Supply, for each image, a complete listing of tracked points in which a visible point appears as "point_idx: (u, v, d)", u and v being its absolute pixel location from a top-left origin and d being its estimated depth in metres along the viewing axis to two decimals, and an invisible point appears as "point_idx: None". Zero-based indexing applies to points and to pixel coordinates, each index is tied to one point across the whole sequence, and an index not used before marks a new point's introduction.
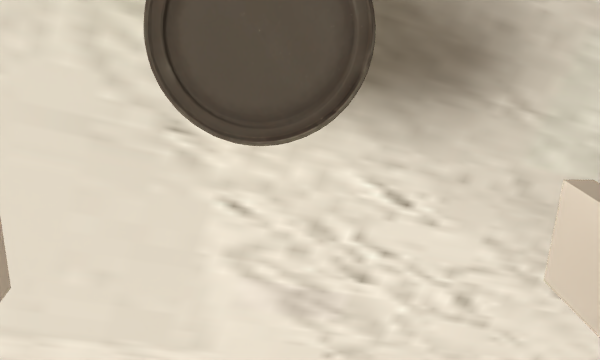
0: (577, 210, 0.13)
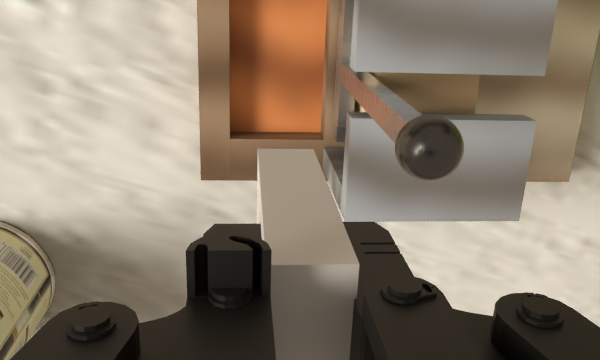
0: None
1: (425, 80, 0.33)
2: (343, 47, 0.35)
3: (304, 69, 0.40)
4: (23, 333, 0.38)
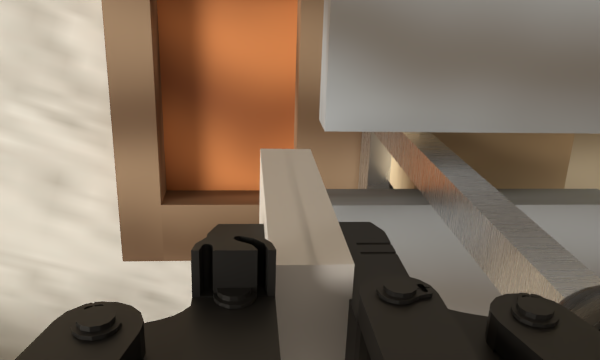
0: None
1: (494, 133, 0.21)
2: None
3: (267, 104, 0.28)
4: None
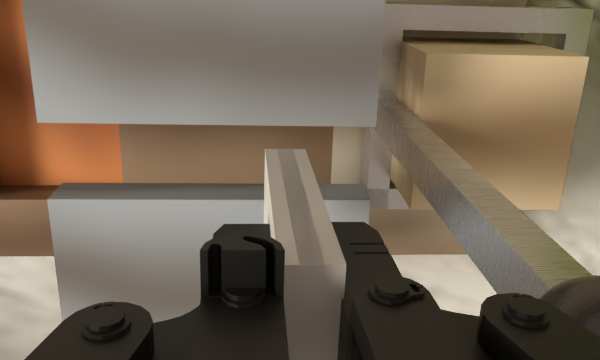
0: None
1: (493, 129, 0.21)
2: None
3: None
4: None
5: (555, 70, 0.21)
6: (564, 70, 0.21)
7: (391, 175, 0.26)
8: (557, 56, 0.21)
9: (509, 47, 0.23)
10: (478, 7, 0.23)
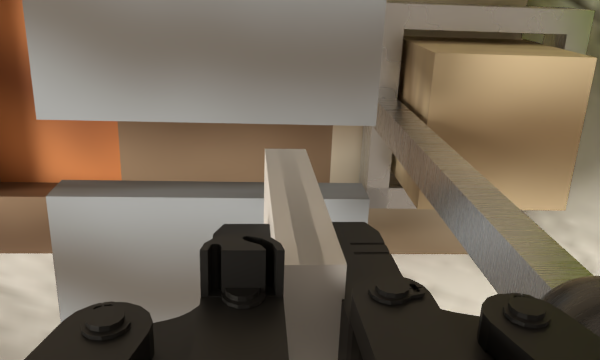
0: None
1: (500, 129, 0.21)
2: None
3: None
4: None
5: (563, 71, 0.21)
6: (572, 70, 0.21)
7: (397, 174, 0.26)
8: (565, 57, 0.21)
9: (516, 47, 0.23)
10: (479, 7, 0.23)
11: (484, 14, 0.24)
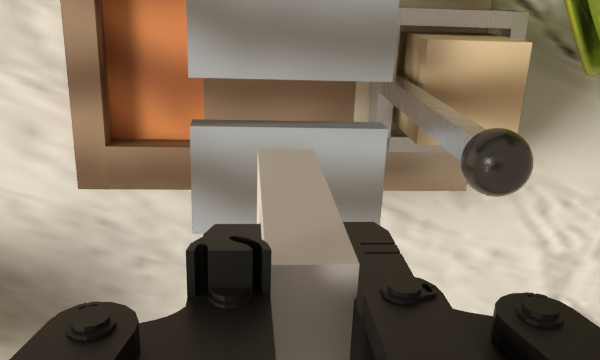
0: None
1: (471, 90, 0.33)
2: None
3: (185, 75, 0.39)
4: None
5: (511, 51, 0.32)
6: (517, 50, 0.32)
7: (401, 127, 0.37)
8: (512, 42, 0.32)
9: (482, 37, 0.34)
10: (451, 10, 0.35)
11: (454, 15, 0.35)
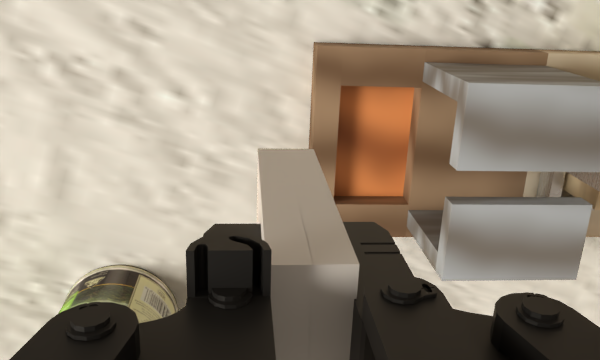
0: None
1: None
2: None
3: (392, 146, 0.49)
4: None
5: None
6: None
7: (570, 191, 0.47)
8: None
9: None
10: None
11: None
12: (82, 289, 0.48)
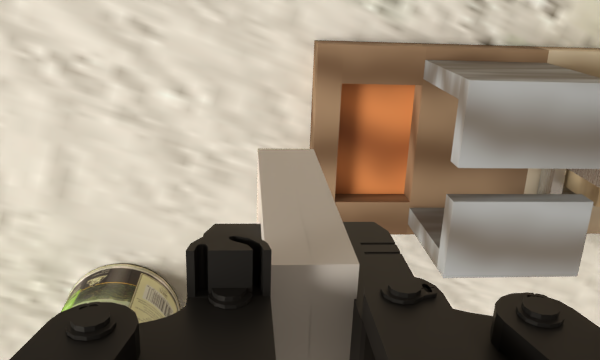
0: None
1: None
2: None
3: (393, 144, 0.49)
4: None
5: None
6: None
7: (571, 188, 0.47)
8: None
9: None
10: None
11: None
12: (84, 288, 0.48)
